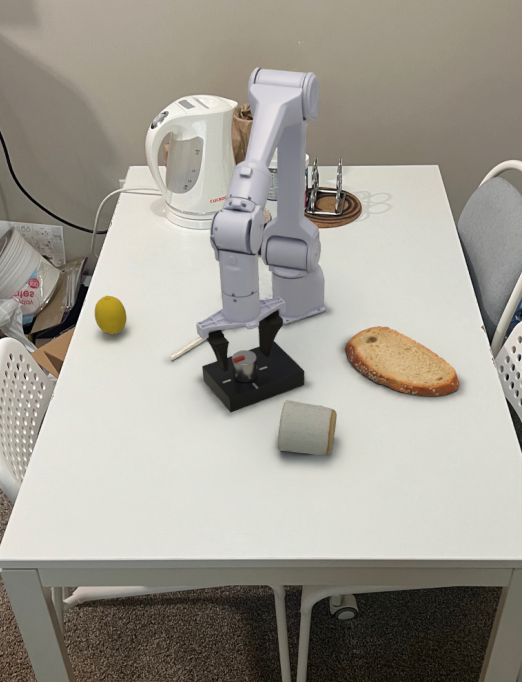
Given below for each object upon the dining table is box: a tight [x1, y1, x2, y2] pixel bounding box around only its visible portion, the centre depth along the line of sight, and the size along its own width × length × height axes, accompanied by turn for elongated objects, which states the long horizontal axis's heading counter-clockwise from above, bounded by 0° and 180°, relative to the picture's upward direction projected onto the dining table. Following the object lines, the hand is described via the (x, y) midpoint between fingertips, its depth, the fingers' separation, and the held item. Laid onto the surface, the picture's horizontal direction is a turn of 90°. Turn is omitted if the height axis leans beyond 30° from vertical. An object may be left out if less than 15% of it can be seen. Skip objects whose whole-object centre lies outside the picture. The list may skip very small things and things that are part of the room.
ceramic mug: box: [277, 399, 338, 456], centre depth 113 cm, size 11×8×8 cm
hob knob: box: [231, 349, 257, 382], centre depth 122 cm, size 4×4×4 cm
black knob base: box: [201, 340, 305, 414], centre depth 125 cm, size 14×10×3 cm
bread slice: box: [344, 325, 460, 397], centre depth 128 cm, size 18×18×4 cm
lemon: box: [94, 295, 128, 335], centre depth 135 cm, size 6×6×8 cm
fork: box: [169, 336, 207, 361], centre depth 136 cm, size 3×20×2 cm, turn 140°
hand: (244, 360), depth 121 cm, fingers open, 7 cm apart
